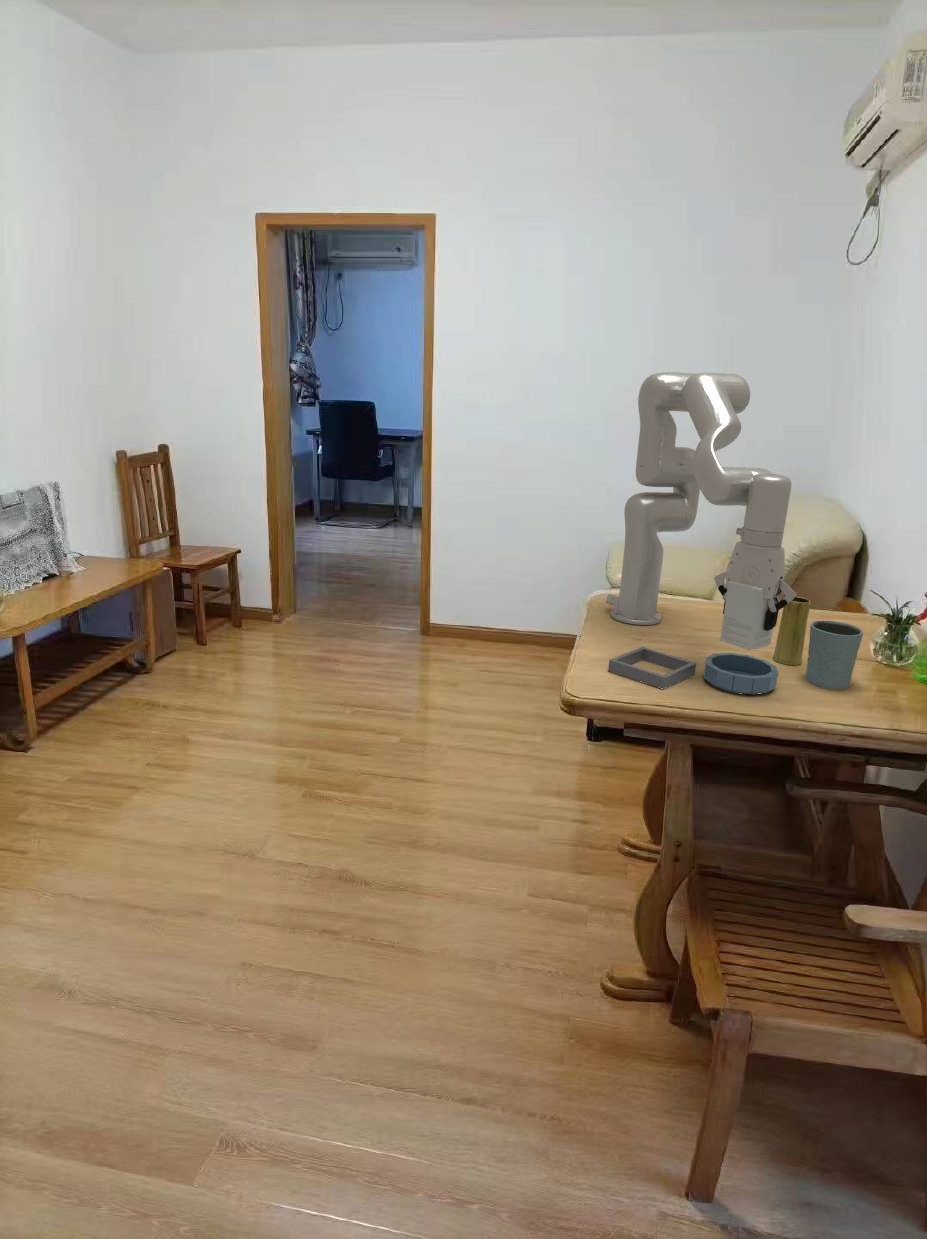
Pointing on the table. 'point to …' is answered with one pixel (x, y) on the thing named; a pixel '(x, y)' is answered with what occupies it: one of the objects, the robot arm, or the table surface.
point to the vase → (792, 632)
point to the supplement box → (745, 617)
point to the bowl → (740, 673)
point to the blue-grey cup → (832, 654)
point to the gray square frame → (624, 667)
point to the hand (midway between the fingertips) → (748, 623)
